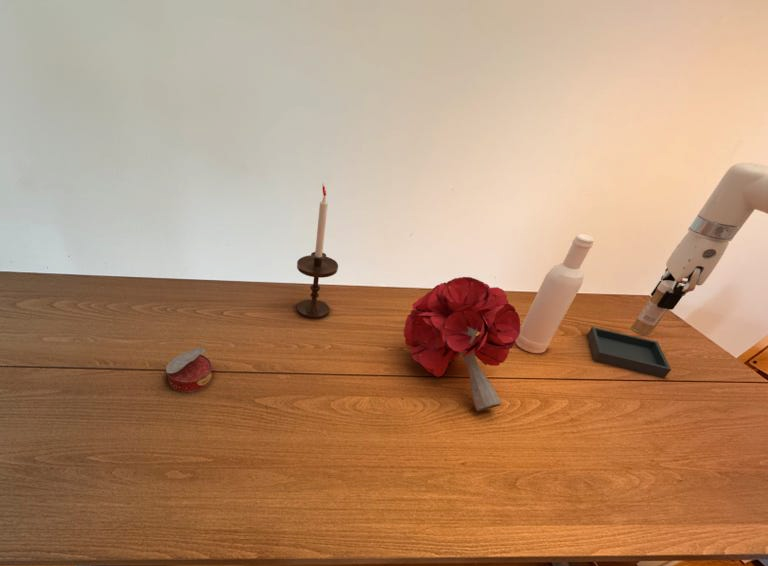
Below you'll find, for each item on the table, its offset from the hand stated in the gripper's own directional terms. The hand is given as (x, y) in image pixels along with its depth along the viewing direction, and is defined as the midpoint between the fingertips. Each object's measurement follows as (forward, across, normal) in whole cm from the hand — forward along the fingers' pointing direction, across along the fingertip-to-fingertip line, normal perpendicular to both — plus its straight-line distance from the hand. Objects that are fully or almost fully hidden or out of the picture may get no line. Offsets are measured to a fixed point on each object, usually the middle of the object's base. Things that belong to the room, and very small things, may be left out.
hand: (661, 301), depth 100 cm
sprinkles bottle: (+9, 0, 0) cm, 9 cm away
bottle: (+17, -6, +23) cm, 29 cm away
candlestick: (+17, -16, +81) cm, 84 cm away
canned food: (+17, -55, +97) cm, 113 cm away
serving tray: (+16, 0, 0) cm, 16 cm away
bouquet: (+17, -28, +42) cm, 53 cm away
